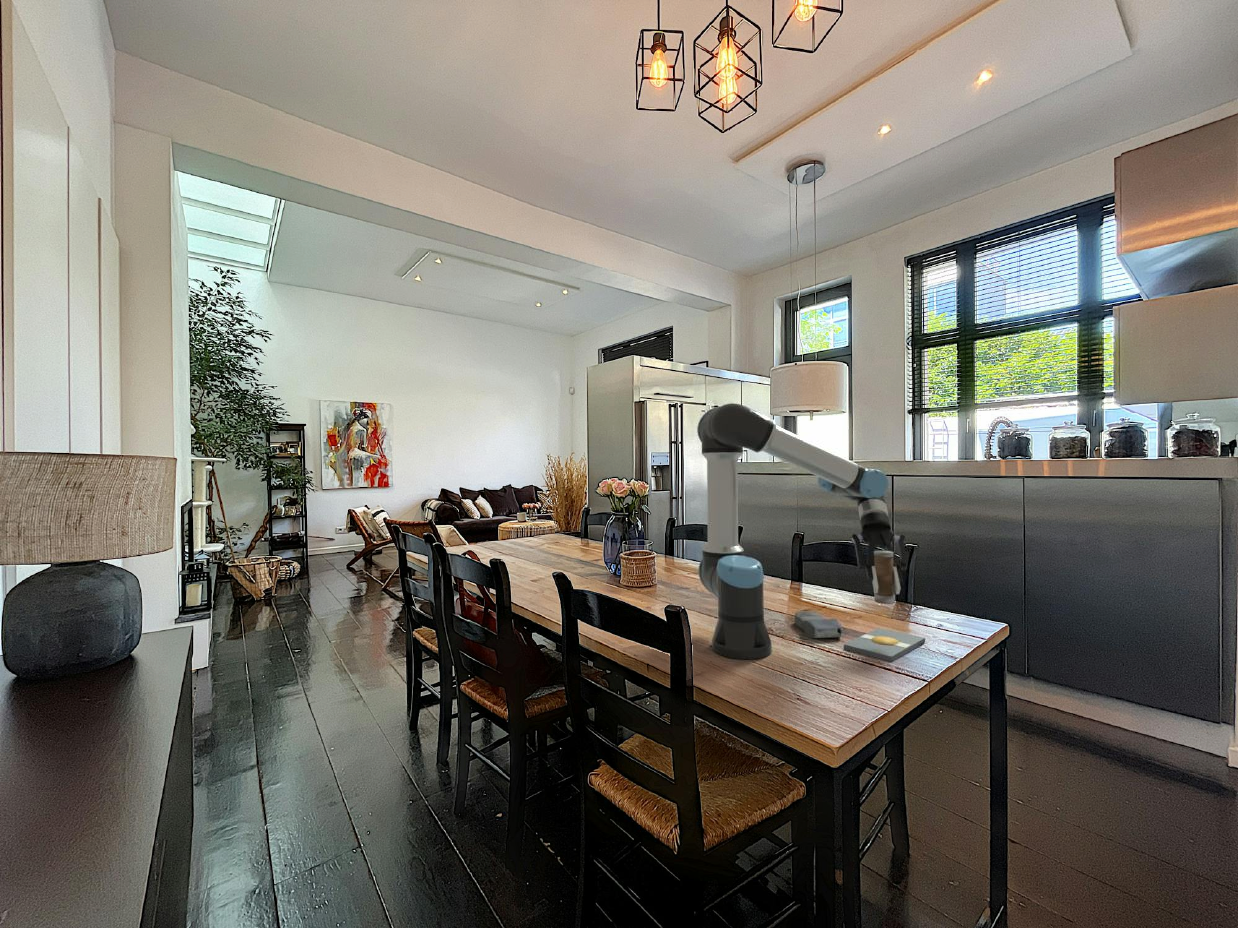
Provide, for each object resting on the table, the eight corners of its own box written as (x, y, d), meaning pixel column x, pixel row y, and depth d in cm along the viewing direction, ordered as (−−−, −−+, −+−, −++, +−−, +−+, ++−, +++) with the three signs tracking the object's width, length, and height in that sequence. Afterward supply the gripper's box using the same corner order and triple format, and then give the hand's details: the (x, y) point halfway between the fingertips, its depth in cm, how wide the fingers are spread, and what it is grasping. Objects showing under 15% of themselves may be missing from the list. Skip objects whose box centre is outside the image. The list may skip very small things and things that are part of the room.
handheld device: (815, 619, 165) (814, 604, 165) (846, 641, 145) (846, 624, 145) (784, 620, 165) (784, 605, 164) (812, 642, 145) (812, 625, 144)
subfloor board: (891, 661, 129) (891, 655, 129) (843, 648, 138) (843, 643, 138) (925, 642, 142) (925, 637, 142) (879, 632, 151) (879, 627, 151)
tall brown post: (876, 603, 138) (875, 553, 138) (873, 598, 143) (871, 550, 143) (896, 604, 137) (895, 553, 137) (892, 599, 142) (891, 550, 142)
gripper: (906, 527, 152) (923, 600, 136) (840, 527, 157) (849, 597, 141) (910, 510, 147) (928, 584, 131) (842, 510, 152) (851, 581, 136)
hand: (887, 590), depth 136 cm, fingers closed on tall brown post, 4 cm apart
